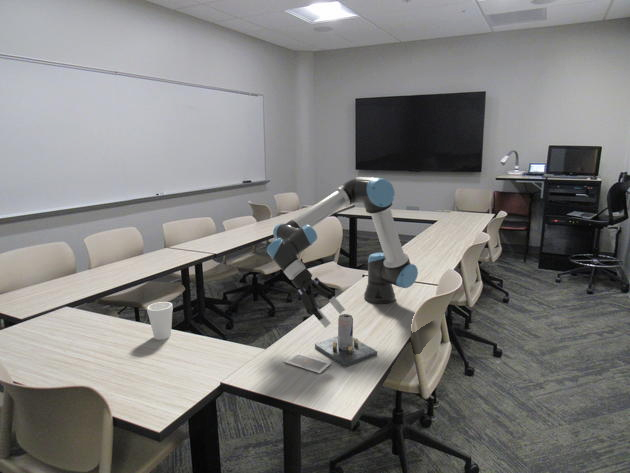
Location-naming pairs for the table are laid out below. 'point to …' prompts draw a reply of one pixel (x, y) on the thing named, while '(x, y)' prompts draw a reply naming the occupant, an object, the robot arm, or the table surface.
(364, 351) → the standoff plate
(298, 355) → the touchpad
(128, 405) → the table surface
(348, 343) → the energy drink
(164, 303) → the foam cup
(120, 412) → the table surface
